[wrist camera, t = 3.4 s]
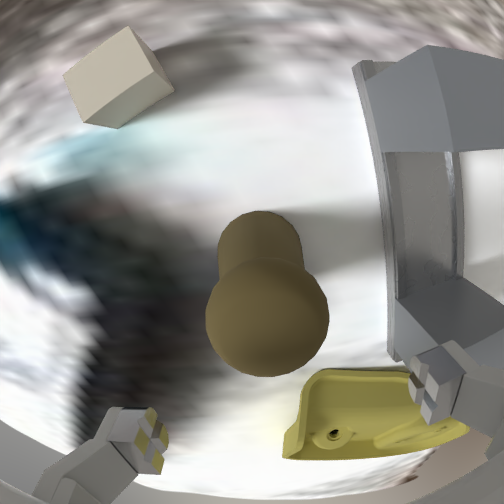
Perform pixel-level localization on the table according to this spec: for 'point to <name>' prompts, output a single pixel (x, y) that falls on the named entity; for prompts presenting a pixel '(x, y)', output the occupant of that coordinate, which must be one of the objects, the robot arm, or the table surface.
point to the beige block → (117, 81)
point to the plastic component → (362, 418)
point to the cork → (265, 299)
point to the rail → (415, 211)
